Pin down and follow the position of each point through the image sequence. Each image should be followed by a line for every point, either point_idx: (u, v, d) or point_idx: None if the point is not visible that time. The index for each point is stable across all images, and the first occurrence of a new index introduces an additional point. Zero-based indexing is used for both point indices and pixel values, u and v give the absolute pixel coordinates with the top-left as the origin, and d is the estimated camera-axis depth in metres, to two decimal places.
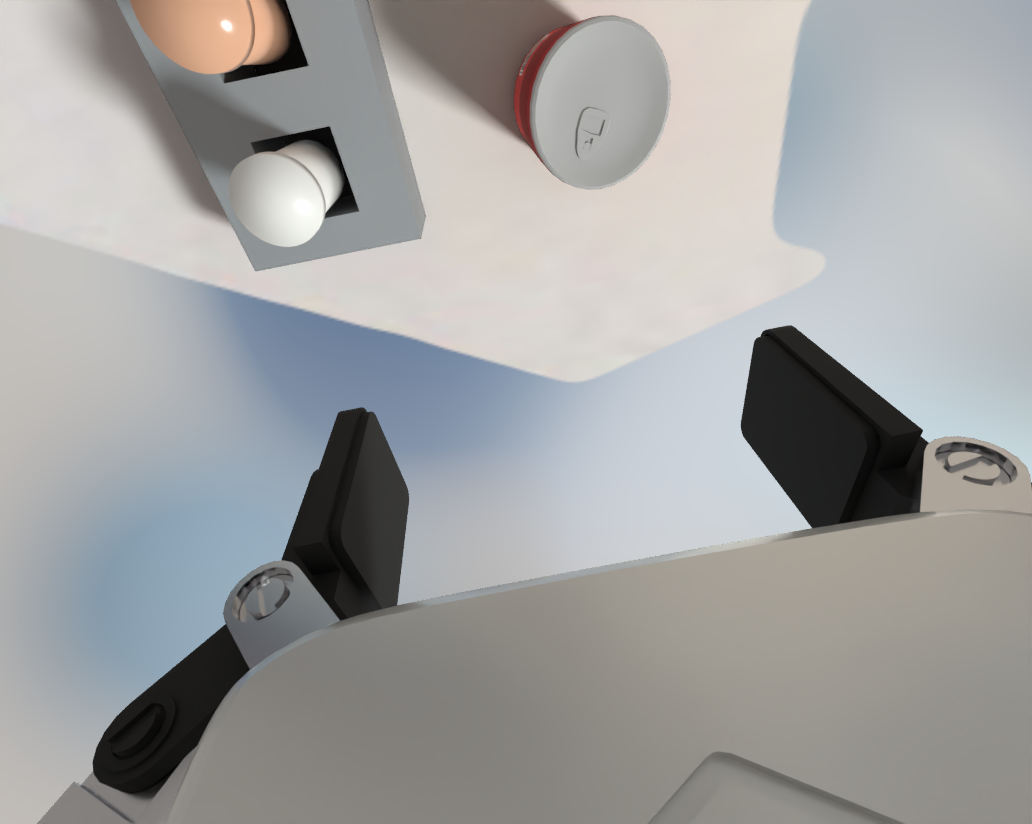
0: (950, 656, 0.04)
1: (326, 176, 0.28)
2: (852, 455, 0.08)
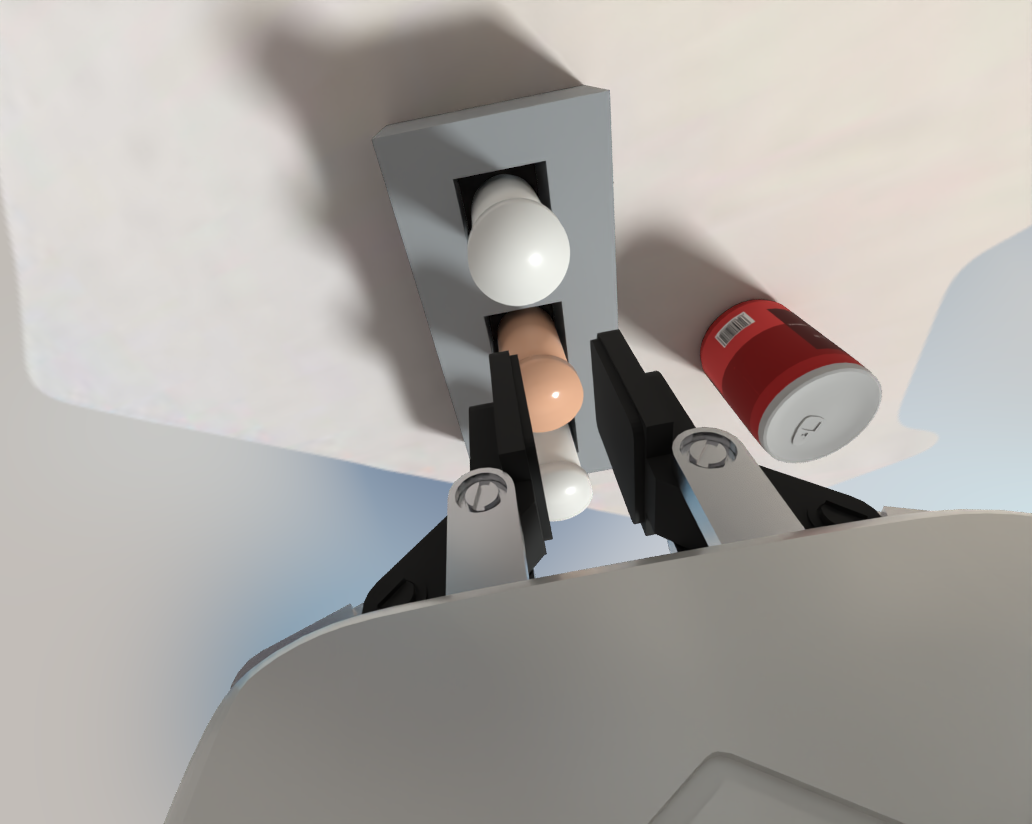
0: (950, 656, 0.04)
1: None
2: (630, 444, 0.09)
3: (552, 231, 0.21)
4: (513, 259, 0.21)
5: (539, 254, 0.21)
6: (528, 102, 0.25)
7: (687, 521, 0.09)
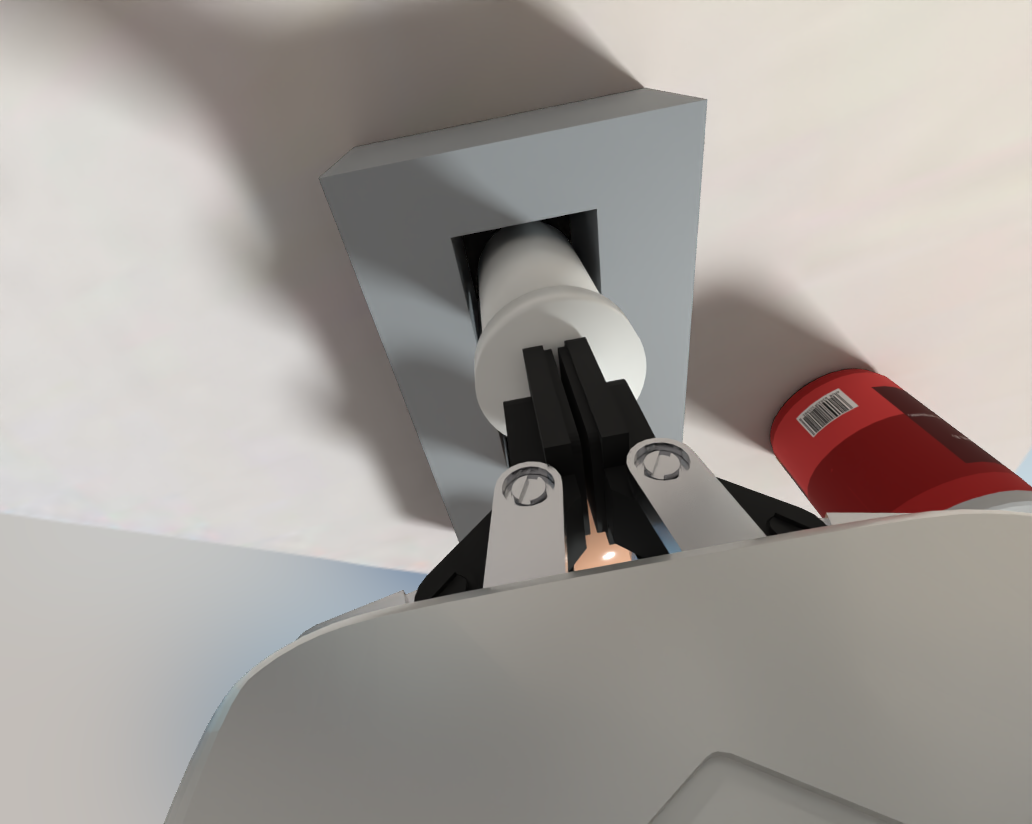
0: (950, 656, 0.04)
1: None
2: (589, 454, 0.09)
3: (620, 343, 0.12)
4: None
5: None
6: (568, 116, 0.16)
7: (643, 532, 0.09)
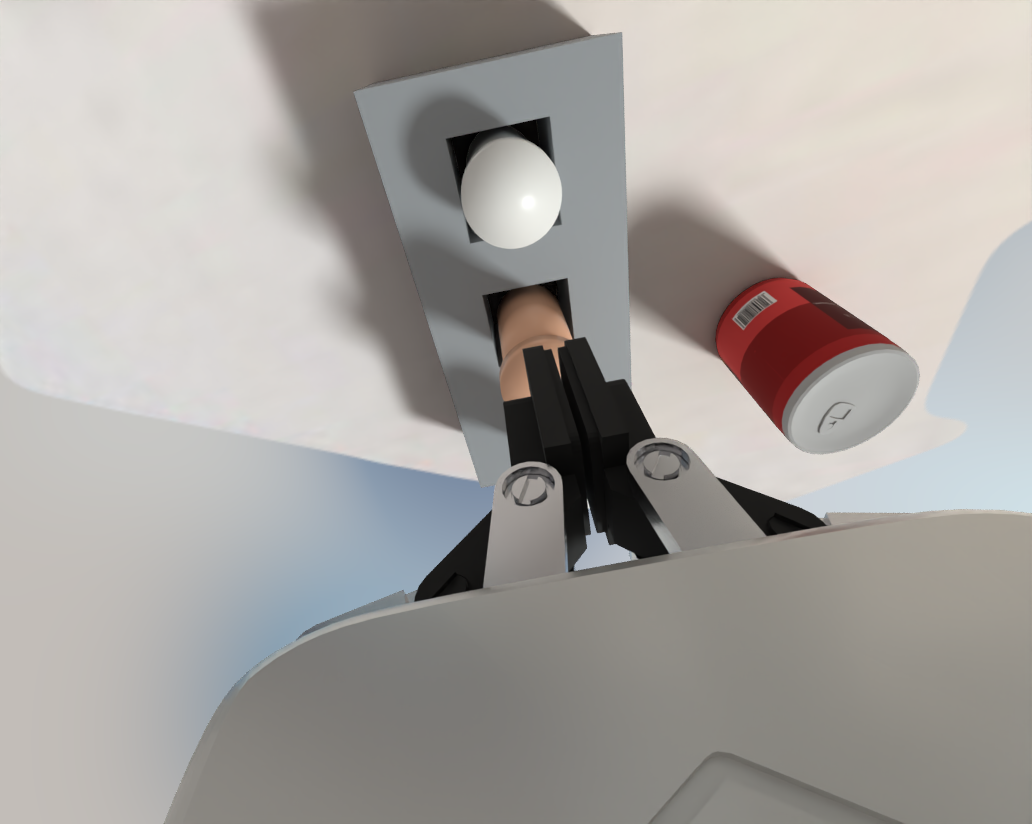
0: (951, 656, 0.04)
1: None
2: (589, 454, 0.09)
3: (544, 170, 0.21)
4: (506, 199, 0.22)
5: (531, 194, 0.21)
6: (529, 51, 0.22)
7: (644, 532, 0.09)
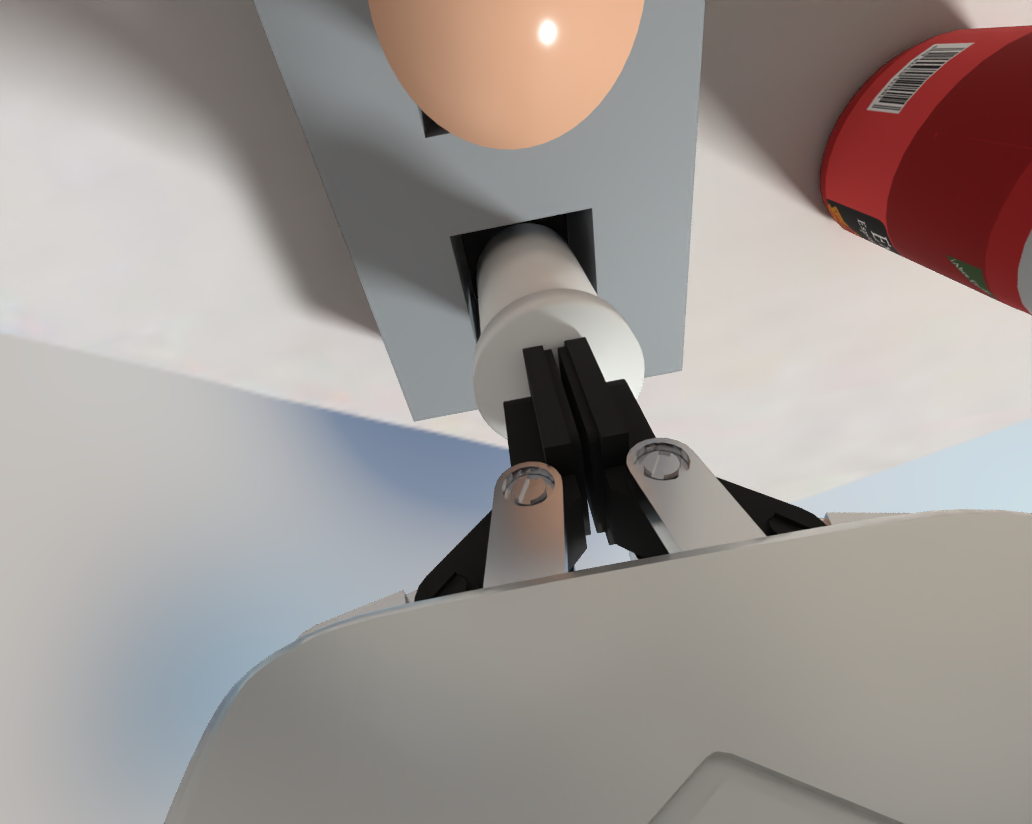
0: (950, 656, 0.04)
1: None
2: (589, 454, 0.09)
3: None
4: None
5: None
6: None
7: (643, 532, 0.09)
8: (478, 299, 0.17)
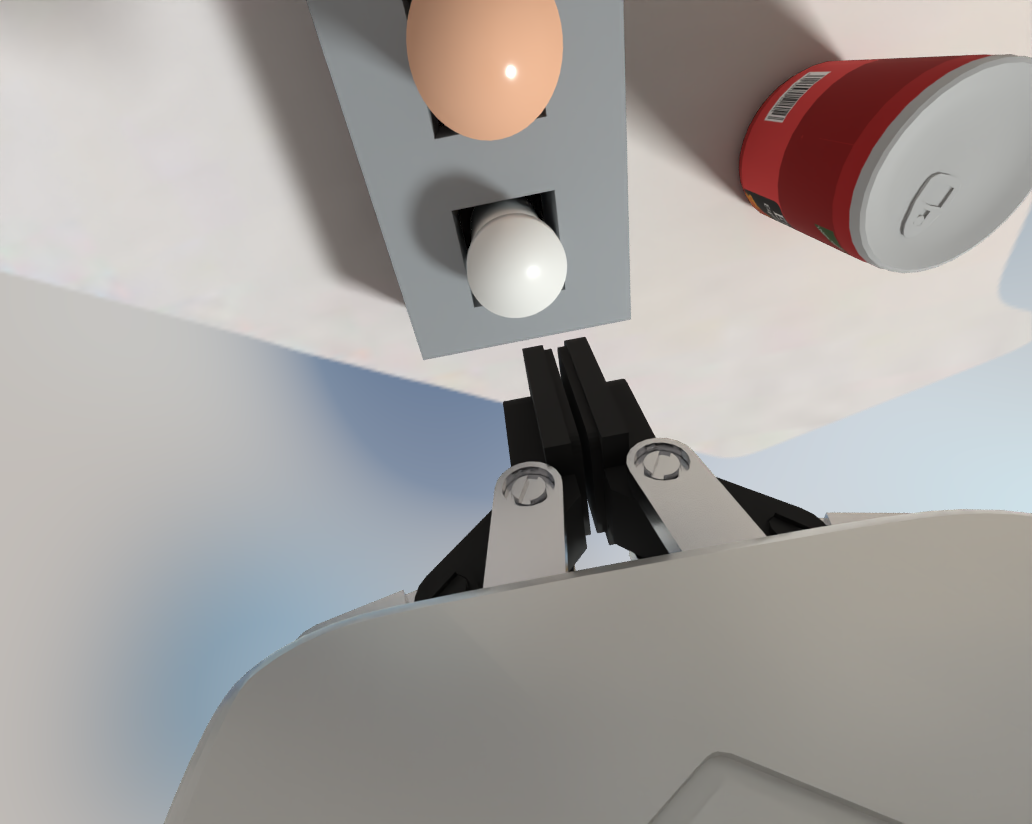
0: (950, 656, 0.04)
1: None
2: (589, 454, 0.09)
3: None
4: None
5: None
6: None
7: (643, 532, 0.09)
8: None
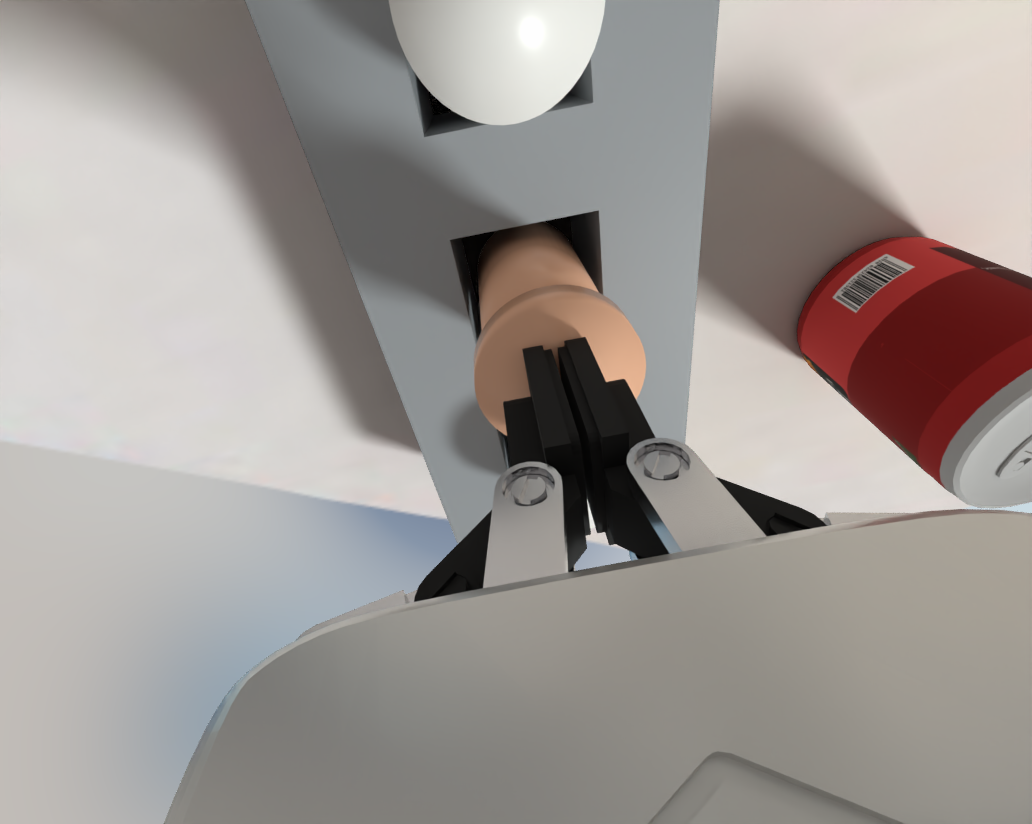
0: (950, 656, 0.04)
1: None
2: (589, 454, 0.09)
3: None
4: (486, 2, 0.10)
5: None
6: None
7: (643, 532, 0.09)
8: None
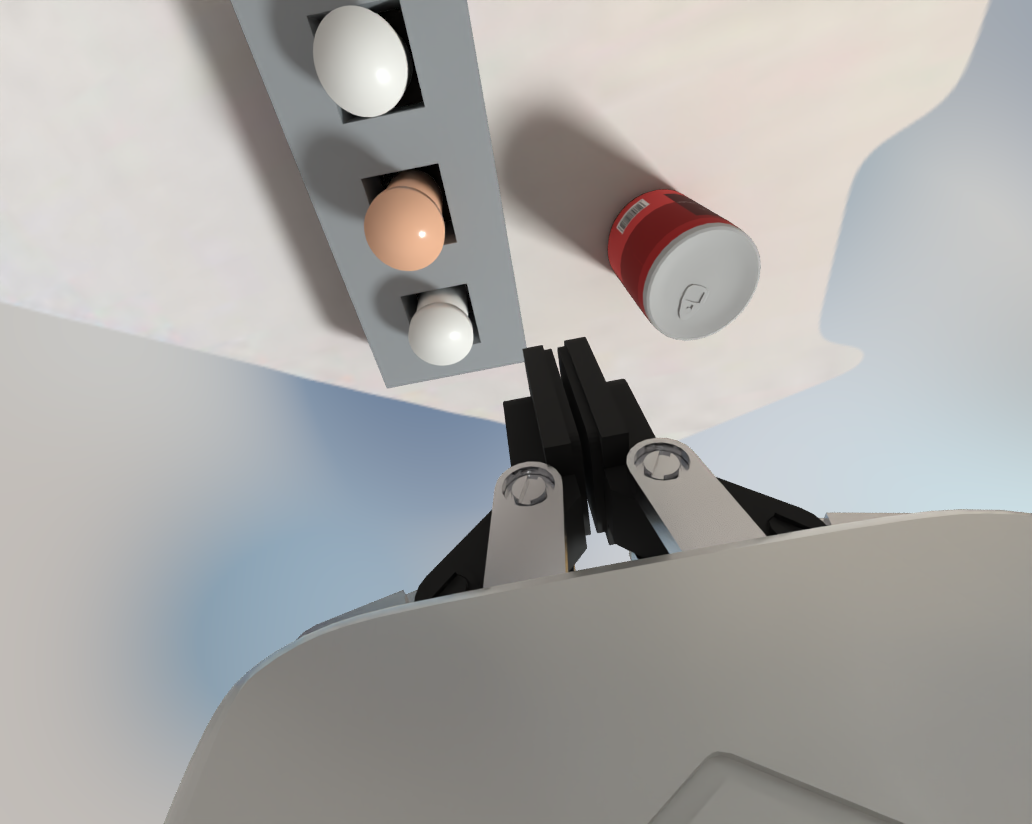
0: (950, 656, 0.04)
1: (466, 306, 0.37)
2: (589, 454, 0.09)
3: (385, 36, 0.24)
4: (355, 65, 0.24)
5: (378, 61, 0.24)
6: None
7: (643, 532, 0.09)
8: None
